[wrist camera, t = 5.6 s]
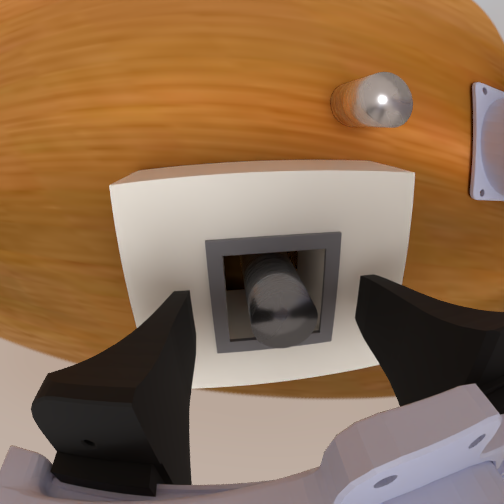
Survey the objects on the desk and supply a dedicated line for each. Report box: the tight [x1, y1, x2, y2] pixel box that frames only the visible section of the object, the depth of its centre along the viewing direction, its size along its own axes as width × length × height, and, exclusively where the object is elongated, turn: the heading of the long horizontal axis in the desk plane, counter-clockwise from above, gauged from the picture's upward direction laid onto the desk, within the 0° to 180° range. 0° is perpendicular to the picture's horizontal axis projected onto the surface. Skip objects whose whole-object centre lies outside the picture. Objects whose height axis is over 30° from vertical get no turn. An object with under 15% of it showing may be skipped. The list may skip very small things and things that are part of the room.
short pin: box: [330, 72, 413, 127], centre depth 13 cm, size 2×2×4 cm
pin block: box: [109, 160, 415, 388], centre depth 15 cm, size 12×10×5 cm
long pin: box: [239, 252, 318, 348], centre depth 14 cm, size 2×2×6 cm
